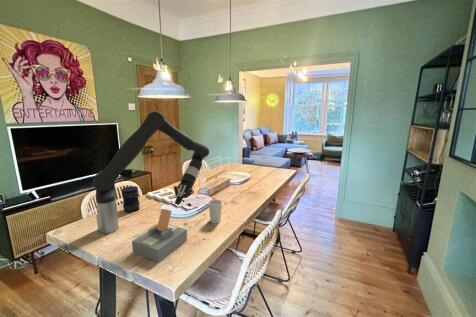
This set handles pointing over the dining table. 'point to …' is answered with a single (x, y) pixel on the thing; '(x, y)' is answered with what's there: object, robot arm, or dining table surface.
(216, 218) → the cup
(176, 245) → the box
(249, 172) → the dining table surface
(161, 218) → the handle
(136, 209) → the storage jar
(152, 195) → the holder
